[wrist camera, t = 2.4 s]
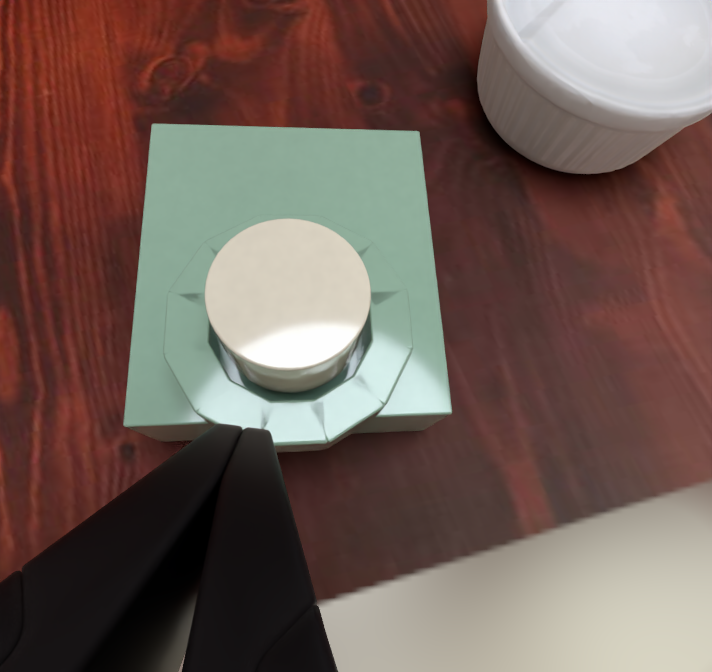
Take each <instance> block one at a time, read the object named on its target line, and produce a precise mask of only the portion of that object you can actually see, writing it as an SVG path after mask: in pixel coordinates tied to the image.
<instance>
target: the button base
mask: <svg viewBox="0 0 712 672" xmlns="http://www.w3.org/2000/svg"><path fill="white" fill-rule="evenodd" d="M288 218H289V219H301V220H306V221H311V222H314V223H317V224H320V225H322V226H325V227H327V228H329V229H331V230H332V231H334V232H336V233H337V234H339V235H340V236H341V237H343V238H344V239H345V240H346V241H347V242H348V243H349V244H350V245H351V246H352V247H353V248H354V250H355V251H356V252H357V253H358V255H359V256H360V258H361V260H362V261H363V263H364V265H365V268H366V270H367V273H368V276H369V280H370V287H371V303H370V310H369V313H368V317H367V320H366V323H365V326H364V329H363V332H362V334H361V337H360V340H359V343H358V346H357V349H356V351H355V353H354V355H353V357H352V359H351V360H350V362H349V364H348V365H347V366H346V367H345V368H344V370H343V371H342V372H341V373H340V374H339V375H337V376H336V377H335V378H334V379H332V380H331V381H329V382H328V383H326V384H324V385H322V386H320V387H317V388H315V389H312V390H308V391H303V392H295V393H286V392H277V391H272V390H269V389H266V388H263V387H261V386H259V385H256V384H255V383H253V382H251V381H250V380H248V379H247V378H246V377H244V376H243V375H242V374H241V373H240V372H239V371H238V370H237V369H236V368H235V367H234V365H233V364H232V362H231V361H230V360H229V358H228V356H227V354H226V352H225V350H224V348H223V346H222V344H221V342H220V341H219V339H218V337H217V335H216V333H215V331H214V329H213V327H212V325H211V323H210V321H209V318H208V315H207V312H206V306H205V293H204V291H205V283H206V279H207V275H208V271H209V269H210V267H211V264H212V262H213V261H214V259H215V257H216V256H217V254H218V253H219V251H220V250H221V249H222V248H223V246H224V245H225V244H226V243H227V242H228V241H229V240H230V239H232V238H233V237H234V236H236V235H237V234H238V233H240V232H241V231H243V230H245V229H247V228H248V227H251V226H253V225H256V224H258V223H261V222H265V221H269V220H275V219H288ZM450 414H452V406H451V398H450V389H449V381H448V372H447V364H446V355H445V346H444V338H443V329H442V321H441V312H440V304H439V295H438V286H437V278H436V269H435V261H434V252H433V244H432V235H431V227H430V218H429V209H428V201H427V192H426V184H425V175H424V167H423V158H422V149H421V141H420V133H419V131H395V130H360V129H325V128H290V127H255V126H220V125H185V124H152V126H151V137H150V147H149V158H148V169H147V179H146V190H145V200H144V211H143V222H142V232H141V243H140V253H139V264H138V275H137V285H136V296H135V306H134V317H133V328H132V338H131V349H130V359H129V370H128V380H127V391H126V402H125V412H124V423H123V425H124V427H127V428H129V429H132V430H134V431H137V432H139V433H142V434H144V435H146V436H149V437H151V438H154V439H156V440H159V441H161V442H165V441H189V440H195V439H196V438H198V437H199V436H200V435H202V434H203V433H204V432H206V431H207V430H209V429H210V428H211V427H213V426H214V425H216V424H218V423H222V424H230V425H237V426H241V427H242V428H243V430H244V429H245V428H247V427H252V428H259V429H266V430H269V431H270V433H271V435H272V439H273V442H274V446H275V450H276V452H297V451H318V450H324V449H328V448H330V447H331V446H333V445H334V444H336V443H337V442H339V441H340V440H342V439H344V438H345V437H347V436H348V435H350V434H352V433H376V432H399V431H422V430H424V429H426V428H428V427H429V426H431V425H433V424H435V423H436V422H438V421H440V420H441V419H443V418H445V417H447V416H448V415H450Z"/></svg>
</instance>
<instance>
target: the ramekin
mask: <svg viewBox="0 0 712 672" xmlns="http://www.w3.org/2000/svg"><path fill="white" fill-rule="evenodd" d="M487 14H488V18H487V23H486V27H485V31H484V36H483V41H482V46H481V51H480V57H479V63H478V73H477V84H478V94H479V99H480V103H481V105H482V107H483V110H484V112H485V114H486V116H487V118H488V120H489V122H490V123H491V125H492V127H493V128H494V129H495V131H496V132H497V133H498V134H499V136H500V137H501V138H502V139H503V140H504V141H505V142H506V143H507V144H508V145H509V146H511V147H512V148H513V149H514V150H516V151H517V152H518V153H520V154H521V155H523V156H524V157H526V158H528V159H529V160H531V161H533V162H535V163H537V164H540V165H542V166H544V167H547V168H550V169H553V170H557V171H561V172H567V173H575V174H599V173H603V172H611V171H614V170H617V169H621V168H624V167H626V166H627V165H630V164H632V163H634V162H636V161H638V160H639V159H641V158H642V157H643V156H645V155H647V154H648V153H649V152H651V151H652V150H654V149H655V148H656V147H658V146H659V145H661V144H662V143H664V142H665V141H666V140H668V139H669V138H671V137H672V136H673V135H675V134H676V133H678V132H679V131H680V130H682V129H683V128H684V127H687V126H689V125H691V124H694V123H696V122H698V121H700V120H702V119H703V118H705V117H706V116H708V115H709V114H711V113H712V0H487Z"/></svg>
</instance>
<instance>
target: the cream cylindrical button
mask: <svg viewBox="0 0 712 672" xmlns="http://www.w3.org/2000/svg"><path fill="white" fill-rule="evenodd" d="M204 293H205V306H206V312H207V315H208V318H209V321H210V323H211V325H212V327H213V329H214V331H215V333H216V335H217V337H218V339H219V341H220V342H221V344H222V346H223V348H224V350H225V352H226V354H227V356H228V358H229V360H230V361H231V362H232V364H233V365H234V367H235V368H236V369H237V370H238V371H239V372H240V373H241V374H242V375H243V376H244V377H246V378H247V379H248V380H250V381H251V382H253V383H255V384H256V385H259V386H261V387H263V388H266V389H269V390H272V391H277V392H286V393H295V392H303V391H308V390H312V389H315V388H317V387H320V386H322V385H324V384H326V383H328V382H329V381H331V380H332V379H334V378H335V377H336V376H337V375H339V374H340V373H341V372H342V371H343V370H344V368H345V367H346V366H347V365H348V364H349V362H350V360H351V359H352V357H353V355H354V353H355V351H356V349H357V346H358V343H359V340H360V337H361V334H362V332H363V329H364V326H365V323H366V320H367V317H368V313H369V310H370V303H371V287H370V280H369V276H368V273H367V270H366V268H365V265H364V263H363V261H362V260H361V258H360V256H359V255H358V253H357V252H356V251H355V250H354V248H353V247H352V246H351V245H350V244H349V243H348V242H347V241H346V240H345V239H344V238H343V237H341V236H340V235H339V234H337V233H336V232H334V231H332V230H331V229H329V228H327V227H325V226H322V225H320V224H317V223H314V222H311V221H306V220H301V219H289V218H288V219H275V220H269V221H265V222H261V223H258V224H256V225H253V226H251V227H248V228H247V229H245V230H243V231H241V232H240V233H238V234H237V235H236V236H234V237H233V238H232V239H230V240H229V241H228V242H227V243H226V244H225V245H224V246H223V248H222V249H221V250H220V251H219V253H218V254H217V256H216V257H215V259H214V261H213V262H212V264H211V267H210V269H209V271H208V275H207V279H206V283H205V291H204Z"/></svg>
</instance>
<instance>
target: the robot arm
mask: <svg viewBox="0 0 712 672" xmlns="http://www.w3.org/2000/svg"><path fill="white" fill-rule="evenodd" d="M316 604H317V600H316V596H315V593H314V589H313V585H312V582H311V578H310V574H309V571H308V567H307V563H306V560H305V556H304V552H303V549H302V545H301V541H300V538H299V534H298V530H297V527H296V523H295V519H294V516H293V512H292V508H291V505H290V501H289V497H288V494H287V490H286V486H285V483H284V479H283V475H282V472H281V468H280V464H279V461H278V457H277V453H276V450H275V446H274V442H273V439H272V435H271V433H270V431H269V430H266V429H259V428H252V427H247V428H245V429H244V430H243V428H242V427H241V426H237V425H230V424H222V423H218V424H216V425H214V426H213V427H211V428H210V429H209V430H207V431H206V432H204V433H203V434H202V435H200V436H199V437H198V438H196V439H195V440H194V441H192V442H191V443H190V444H188V445H187V446H185V447H184V448H183V449H181V450H180V451H179V452H177V453H176V454H175V455H173V456H172V457H170V458H169V459H168V460H166V461H165V462H164V463H162V464H161V465H160V466H158V467H157V468H156V469H154V470H153V471H151V472H150V473H149V474H147V475H146V476H145V477H143V478H142V479H141V480H139V481H138V482H136V483H135V484H134V485H132V486H131V487H130V488H128V489H127V490H126V491H124V492H123V493H122V494H120V495H119V496H117V497H116V498H115V499H113V500H112V501H111V502H109V503H108V504H107V505H105V506H104V507H103V508H101V509H100V510H98V511H97V512H96V513H94V514H93V515H92V516H90V517H89V518H88V519H86V520H85V521H83V522H82V523H81V524H79V525H78V526H77V527H75V528H74V529H73V530H71V531H70V532H69V533H67V534H66V535H64V536H63V537H62V538H60V539H59V540H58V541H56V542H55V543H54V544H52V545H51V546H49V547H48V548H47V549H45V550H44V551H43V552H41V553H40V554H39V555H37V556H36V557H35V558H33V559H32V560H30V561H29V562H28V563H26V564H25V565H24V566H23V567H22V572H21V571H15V572H14V573H12V574H11V575H10V576H8V577H7V578H6V579H4V580H3V581H1V582H0V672H178V671H179V668H180V665H181V663H182V660H183V657H184V655H185V659H184V664H183V669H182V672H338V670H337V667H336V664H335V661H334V657H333V654H332V651H331V648H330V645H329V641H328V638H327V635H326V632H325V628H324V624H323V621H322V617H321V613H320V610H319V607H318V606H317V605H316ZM185 652H186V654H185Z"/></svg>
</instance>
